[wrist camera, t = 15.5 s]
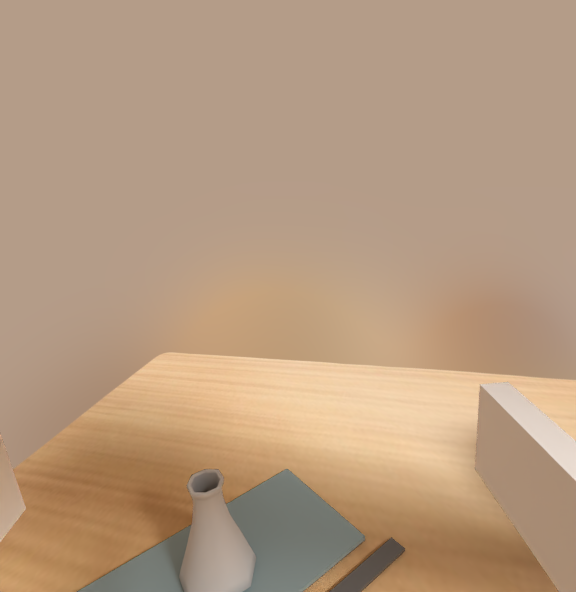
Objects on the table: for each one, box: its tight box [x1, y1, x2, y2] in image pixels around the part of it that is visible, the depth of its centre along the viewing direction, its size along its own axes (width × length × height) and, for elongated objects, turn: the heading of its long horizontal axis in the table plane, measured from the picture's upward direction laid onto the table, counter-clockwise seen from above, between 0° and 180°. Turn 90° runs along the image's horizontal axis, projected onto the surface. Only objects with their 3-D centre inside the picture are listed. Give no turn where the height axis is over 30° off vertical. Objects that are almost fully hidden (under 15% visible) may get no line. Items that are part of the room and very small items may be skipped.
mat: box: [77, 469, 365, 592], centre depth 37 cm, size 26×13×1 cm, turn 127°
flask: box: [179, 469, 256, 592], centre depth 36 cm, size 7×7×10 cm
